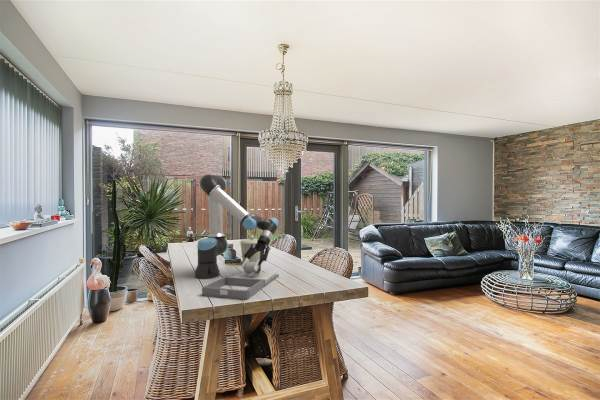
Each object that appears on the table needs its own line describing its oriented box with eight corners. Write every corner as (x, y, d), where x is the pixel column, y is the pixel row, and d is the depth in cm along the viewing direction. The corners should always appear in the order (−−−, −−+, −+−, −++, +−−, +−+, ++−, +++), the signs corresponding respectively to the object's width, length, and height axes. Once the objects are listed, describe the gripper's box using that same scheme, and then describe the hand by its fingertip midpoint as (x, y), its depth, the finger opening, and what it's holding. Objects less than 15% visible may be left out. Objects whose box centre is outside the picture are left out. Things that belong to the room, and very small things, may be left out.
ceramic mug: (249, 272, 201) (249, 260, 201) (261, 273, 198) (261, 260, 198) (240, 276, 191) (240, 263, 191) (253, 277, 188) (252, 264, 188)
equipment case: (201, 295, 165) (201, 287, 165) (242, 274, 211) (242, 267, 211) (246, 299, 159) (246, 291, 159) (278, 276, 204) (278, 270, 204)
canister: (239, 261, 250) (238, 234, 250) (262, 260, 255) (262, 233, 254) (240, 266, 233) (240, 237, 232) (265, 265, 237) (265, 236, 237)
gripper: (281, 243, 203) (266, 274, 190) (254, 241, 214) (238, 270, 201) (276, 236, 199) (260, 267, 185) (249, 234, 210) (232, 263, 196)
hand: (249, 268), depth 193 cm, fingers closed on ceramic mug, 9 cm apart
